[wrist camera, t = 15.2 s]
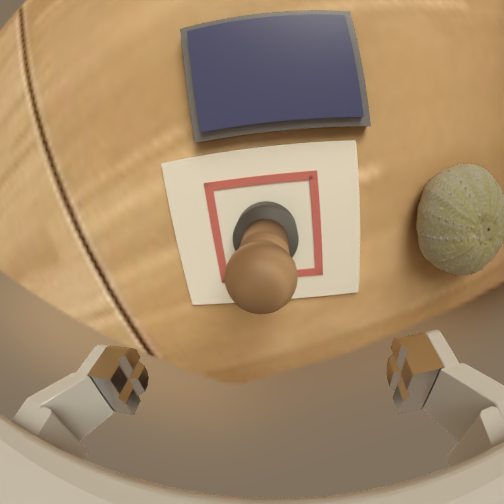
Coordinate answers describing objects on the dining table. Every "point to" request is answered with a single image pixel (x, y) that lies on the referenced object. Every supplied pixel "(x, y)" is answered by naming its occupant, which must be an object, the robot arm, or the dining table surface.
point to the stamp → (263, 259)
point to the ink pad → (274, 74)
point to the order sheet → (273, 190)
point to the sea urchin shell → (461, 219)
